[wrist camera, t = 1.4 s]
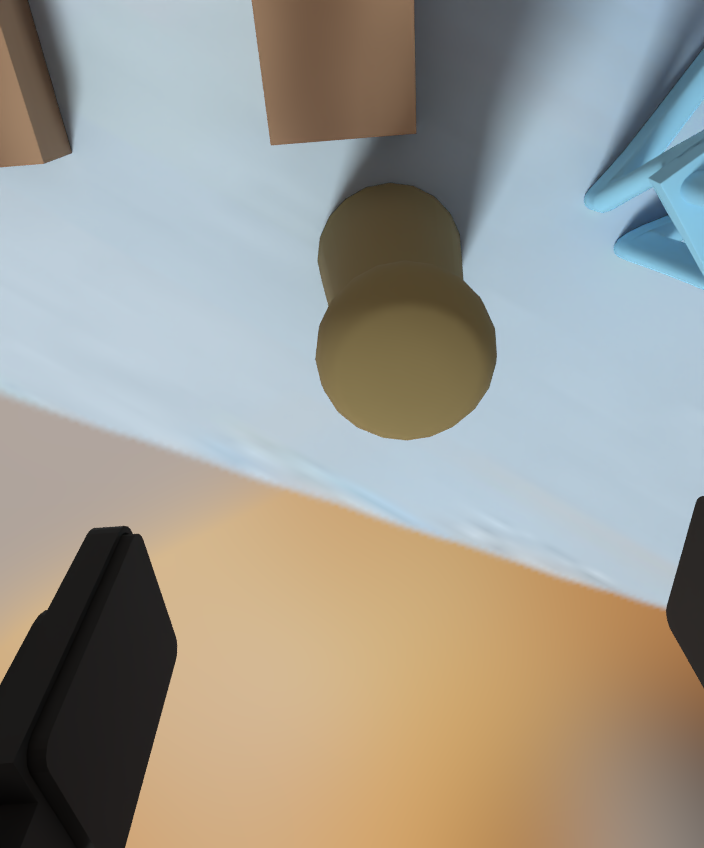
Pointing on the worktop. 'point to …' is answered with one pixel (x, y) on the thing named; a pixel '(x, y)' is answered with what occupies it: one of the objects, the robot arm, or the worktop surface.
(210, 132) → the worktop surface
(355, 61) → the notched board
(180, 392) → the worktop surface
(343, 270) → the cork
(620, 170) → the chair
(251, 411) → the worktop surface
